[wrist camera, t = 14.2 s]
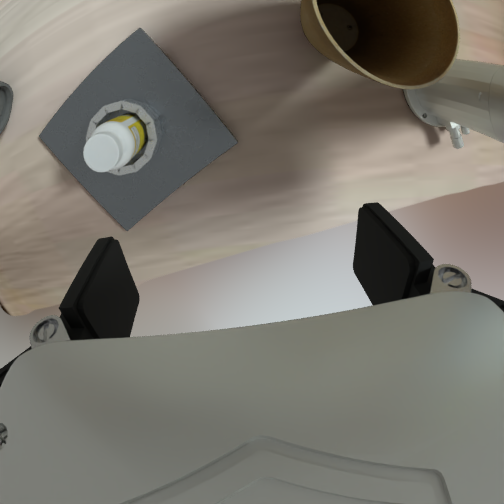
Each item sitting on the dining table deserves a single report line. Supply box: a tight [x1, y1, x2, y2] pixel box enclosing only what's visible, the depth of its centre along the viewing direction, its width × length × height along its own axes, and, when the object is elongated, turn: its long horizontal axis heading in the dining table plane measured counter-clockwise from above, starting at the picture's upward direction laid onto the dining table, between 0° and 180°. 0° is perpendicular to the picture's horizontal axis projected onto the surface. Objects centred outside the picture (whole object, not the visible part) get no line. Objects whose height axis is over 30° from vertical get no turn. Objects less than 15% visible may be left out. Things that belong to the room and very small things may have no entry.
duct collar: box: [39, 28, 238, 231], centre depth 31 cm, size 20×20×4 cm
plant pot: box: [300, 0, 460, 89], centre depth 21 cm, size 15×15×16 cm
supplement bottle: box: [83, 114, 148, 172], centre depth 28 cm, size 5×5×10 cm
